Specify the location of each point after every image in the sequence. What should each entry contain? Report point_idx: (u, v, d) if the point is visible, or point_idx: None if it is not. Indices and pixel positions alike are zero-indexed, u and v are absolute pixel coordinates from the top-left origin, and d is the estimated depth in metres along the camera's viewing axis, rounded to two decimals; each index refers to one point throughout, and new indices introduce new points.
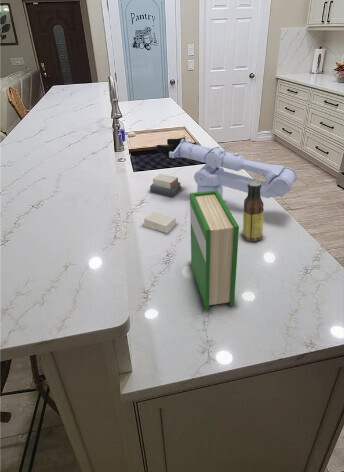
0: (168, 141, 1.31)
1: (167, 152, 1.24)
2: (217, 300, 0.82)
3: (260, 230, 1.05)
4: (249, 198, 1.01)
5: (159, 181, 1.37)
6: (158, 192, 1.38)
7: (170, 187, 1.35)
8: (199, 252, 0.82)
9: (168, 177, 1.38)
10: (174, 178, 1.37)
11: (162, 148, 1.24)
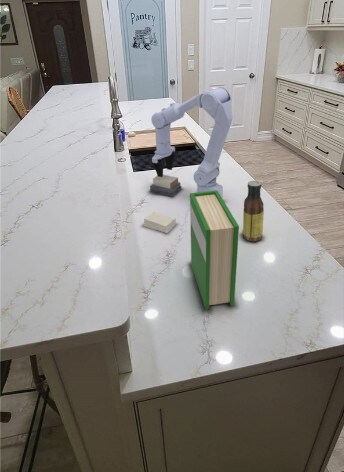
0: (168, 168, 1.39)
1: (160, 166, 1.31)
2: (217, 300, 0.82)
3: (260, 230, 1.05)
4: (249, 198, 1.01)
5: (159, 181, 1.37)
6: (158, 192, 1.38)
7: (170, 187, 1.35)
8: (199, 252, 0.82)
9: (168, 177, 1.38)
10: (174, 178, 1.37)
11: (158, 170, 1.32)
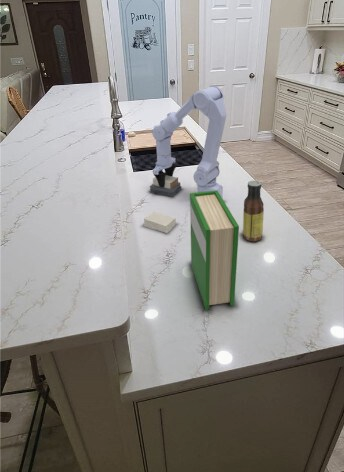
0: None
1: (161, 176, 1.34)
2: (217, 300, 0.82)
3: (260, 230, 1.05)
4: (249, 198, 1.01)
5: None
6: (158, 192, 1.38)
7: (170, 187, 1.35)
8: (199, 252, 0.82)
9: (168, 177, 1.38)
10: (174, 178, 1.37)
11: (159, 181, 1.35)
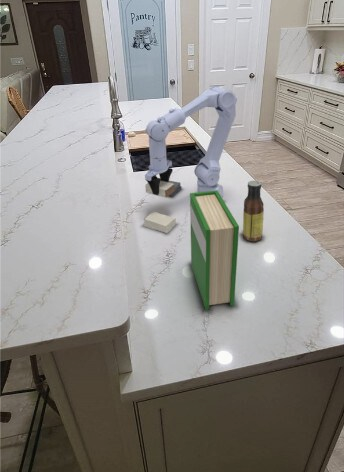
0: None
1: None
2: (217, 300, 0.82)
3: (260, 230, 1.05)
4: (249, 198, 1.01)
5: None
6: None
7: (165, 195, 1.15)
8: (199, 252, 0.82)
9: (163, 183, 1.19)
10: (170, 184, 1.18)
11: (153, 188, 1.16)
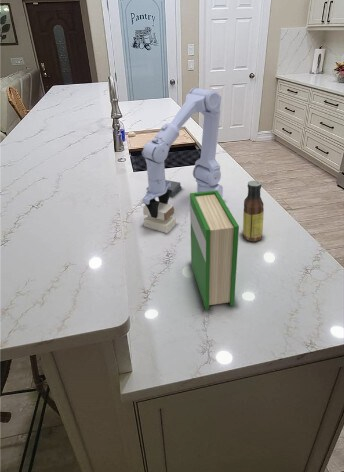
0: None
1: None
2: (217, 300, 0.82)
3: (260, 230, 1.05)
4: (249, 198, 1.01)
5: None
6: None
7: (164, 218, 1.10)
8: (199, 252, 0.82)
9: (162, 205, 1.14)
10: (169, 207, 1.13)
11: (151, 210, 1.11)
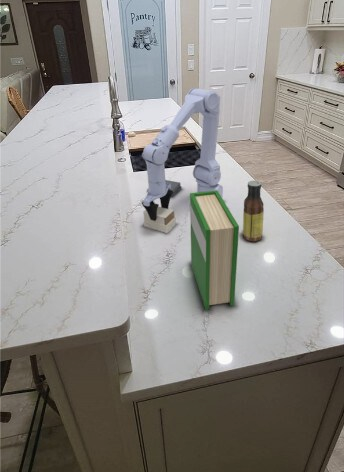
0: None
1: None
2: (217, 300, 0.82)
3: (260, 230, 1.05)
4: (249, 198, 1.01)
5: None
6: None
7: (164, 223, 1.11)
8: (199, 252, 0.82)
9: (162, 210, 1.15)
10: (169, 211, 1.13)
11: (150, 213, 1.11)
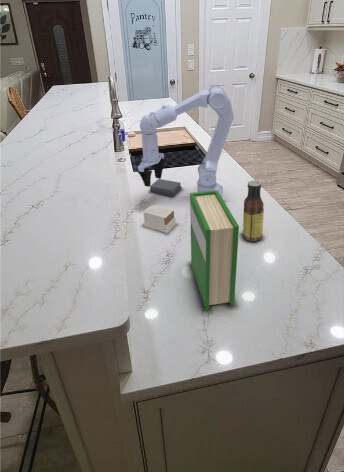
0: (157, 176, 1.28)
1: (147, 175, 1.20)
2: (217, 300, 0.82)
3: (260, 230, 1.05)
4: (249, 198, 1.01)
5: (151, 215, 1.13)
6: (158, 192, 1.38)
7: (164, 223, 1.11)
8: (199, 252, 0.82)
9: (162, 210, 1.15)
10: (169, 211, 1.13)
11: (145, 179, 1.22)
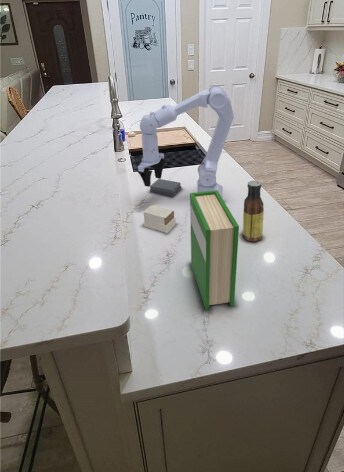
0: (157, 176, 1.28)
1: (147, 175, 1.20)
2: (217, 300, 0.82)
3: (260, 230, 1.05)
4: (249, 198, 1.01)
5: (151, 215, 1.13)
6: (158, 192, 1.38)
7: (164, 223, 1.11)
8: (199, 252, 0.82)
9: (162, 210, 1.15)
10: (169, 211, 1.13)
11: (145, 179, 1.22)
